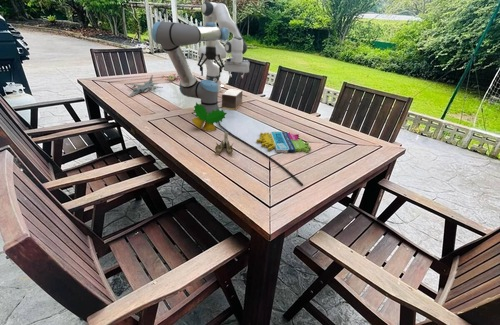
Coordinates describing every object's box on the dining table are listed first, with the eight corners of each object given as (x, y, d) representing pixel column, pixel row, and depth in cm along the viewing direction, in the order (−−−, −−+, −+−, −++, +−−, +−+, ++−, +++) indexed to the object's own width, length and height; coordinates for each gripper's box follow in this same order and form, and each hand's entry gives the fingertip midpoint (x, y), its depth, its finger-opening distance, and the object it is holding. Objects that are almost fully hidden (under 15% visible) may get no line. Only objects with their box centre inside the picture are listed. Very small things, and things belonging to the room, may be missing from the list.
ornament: (218, 133, 171) (224, 110, 169) (221, 134, 163) (227, 111, 161) (186, 125, 162) (192, 101, 160) (189, 126, 155) (195, 101, 153)
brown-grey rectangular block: (229, 101, 219) (229, 88, 214) (241, 103, 217) (242, 90, 212) (221, 108, 202) (221, 94, 197) (235, 109, 200) (235, 96, 195)
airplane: (123, 86, 237) (121, 75, 232) (158, 84, 251) (157, 74, 246) (127, 99, 209) (125, 86, 204) (167, 96, 222) (166, 84, 217)
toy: (194, 71, 288) (181, 75, 262) (194, 77, 291) (182, 82, 265) (171, 68, 293) (156, 72, 267) (171, 75, 296) (157, 79, 270)
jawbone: (234, 135, 144) (233, 125, 135) (233, 160, 138) (232, 151, 129) (217, 135, 144) (216, 125, 135) (216, 160, 138) (214, 150, 129)
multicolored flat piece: (313, 150, 142) (258, 149, 139) (312, 153, 143) (258, 152, 140) (301, 132, 164) (254, 130, 161) (301, 134, 165) (254, 133, 162)
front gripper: (228, 47, 196) (227, 76, 206) (194, 44, 195) (195, 74, 205) (227, 48, 189) (226, 78, 199) (192, 45, 188) (193, 75, 199)
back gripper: (250, 60, 208) (249, 78, 215) (225, 58, 210) (225, 75, 217) (249, 61, 203) (248, 79, 209) (223, 59, 205) (223, 77, 211)
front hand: (210, 76), depth 202 cm, fingers open, 13 cm apart
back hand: (236, 77), depth 213 cm, fingers open, 8 cm apart
